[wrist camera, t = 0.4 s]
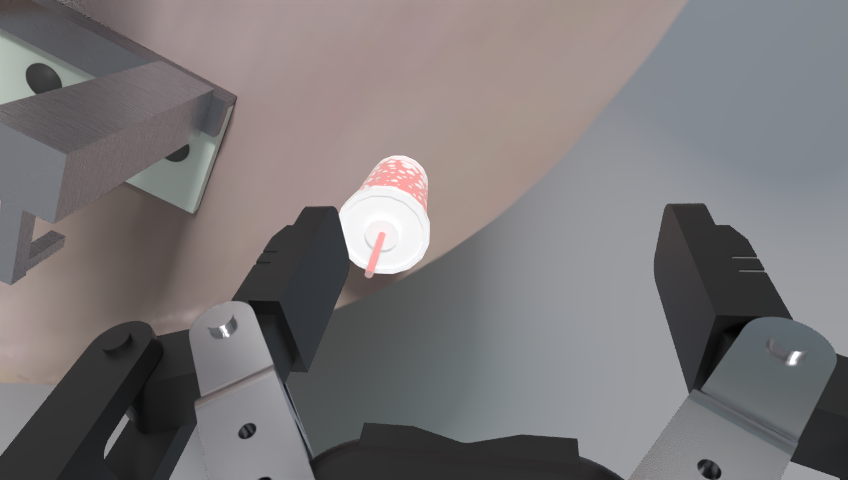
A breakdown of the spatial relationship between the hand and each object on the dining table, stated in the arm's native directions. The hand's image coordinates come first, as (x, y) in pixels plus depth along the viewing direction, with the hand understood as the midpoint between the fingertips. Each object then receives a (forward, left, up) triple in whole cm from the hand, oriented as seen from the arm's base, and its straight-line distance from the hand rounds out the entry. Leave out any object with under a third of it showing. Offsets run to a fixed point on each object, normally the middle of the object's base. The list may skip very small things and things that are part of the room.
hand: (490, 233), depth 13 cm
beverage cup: (+7, -8, -26) cm, 28 cm away
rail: (-9, -30, -26) cm, 41 cm away
